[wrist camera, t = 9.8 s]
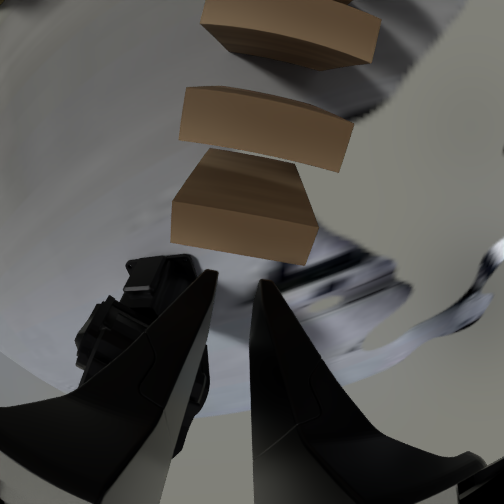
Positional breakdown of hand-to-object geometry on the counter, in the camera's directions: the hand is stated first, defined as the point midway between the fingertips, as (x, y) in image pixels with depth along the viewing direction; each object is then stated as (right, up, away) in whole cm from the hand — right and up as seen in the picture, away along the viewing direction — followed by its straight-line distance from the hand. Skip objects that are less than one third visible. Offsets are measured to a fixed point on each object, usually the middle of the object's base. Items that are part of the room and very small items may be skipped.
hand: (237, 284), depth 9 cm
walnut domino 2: (+1, +10, +7) cm, 13 cm away
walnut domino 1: (+2, +14, +5) cm, 15 cm away
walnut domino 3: (0, +7, +10) cm, 12 cm away
